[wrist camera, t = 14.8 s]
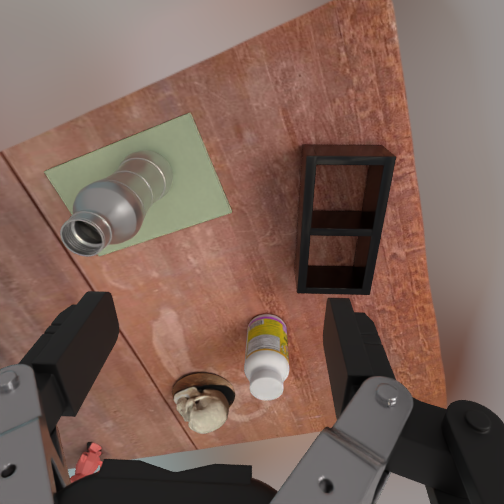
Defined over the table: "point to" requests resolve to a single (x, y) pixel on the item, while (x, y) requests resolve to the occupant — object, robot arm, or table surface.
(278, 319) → the supplement bottle
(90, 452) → the cat figurine
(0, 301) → the table surface
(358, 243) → the bottle rack
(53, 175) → the mat
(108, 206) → the silver water bottle
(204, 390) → the skull
